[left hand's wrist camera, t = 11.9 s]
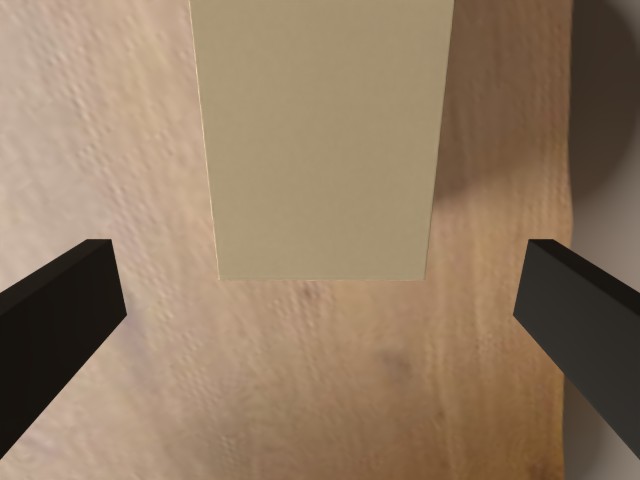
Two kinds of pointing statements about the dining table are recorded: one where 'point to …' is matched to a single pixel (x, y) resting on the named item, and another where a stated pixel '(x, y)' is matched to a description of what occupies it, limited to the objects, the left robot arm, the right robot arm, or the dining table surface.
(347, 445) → the dining table surface
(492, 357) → the dining table surface
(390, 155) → the cabinet
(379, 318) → the dining table surface
